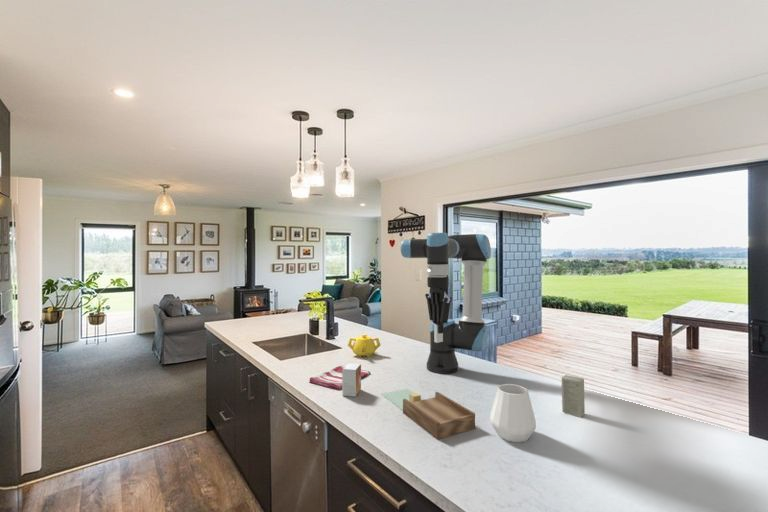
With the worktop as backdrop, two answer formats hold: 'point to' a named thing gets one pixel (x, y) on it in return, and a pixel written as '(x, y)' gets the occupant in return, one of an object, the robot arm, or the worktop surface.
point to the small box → (351, 380)
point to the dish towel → (333, 378)
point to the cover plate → (402, 397)
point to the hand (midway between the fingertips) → (438, 341)
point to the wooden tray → (440, 416)
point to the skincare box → (573, 395)
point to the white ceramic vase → (512, 413)
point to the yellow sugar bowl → (364, 345)
